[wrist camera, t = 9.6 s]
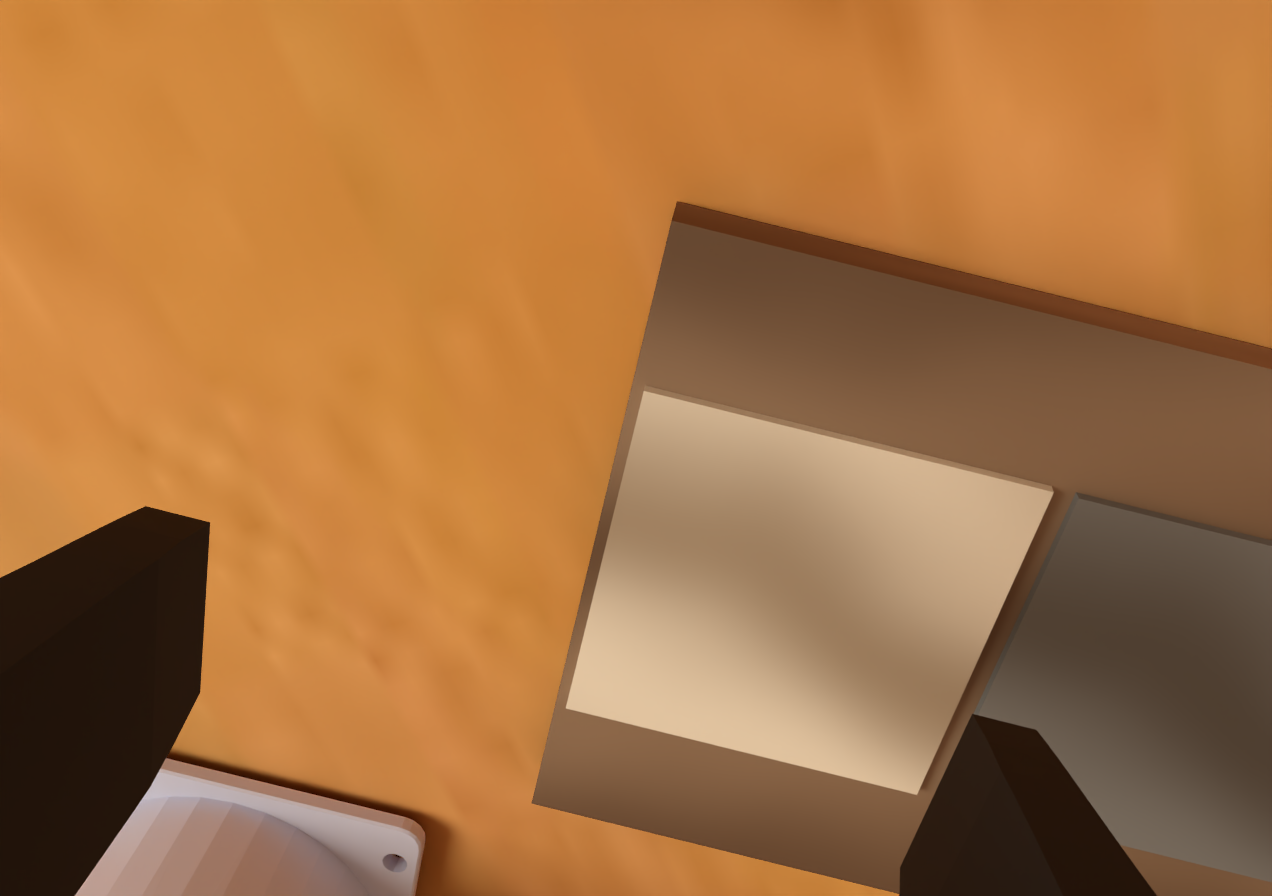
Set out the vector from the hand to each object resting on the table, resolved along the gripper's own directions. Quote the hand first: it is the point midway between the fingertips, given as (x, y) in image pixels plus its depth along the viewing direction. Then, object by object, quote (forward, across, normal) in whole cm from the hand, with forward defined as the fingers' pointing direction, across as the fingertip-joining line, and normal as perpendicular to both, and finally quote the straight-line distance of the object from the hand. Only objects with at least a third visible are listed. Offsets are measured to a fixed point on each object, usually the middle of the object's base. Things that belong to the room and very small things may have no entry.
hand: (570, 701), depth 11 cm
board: (+9, -14, +4) cm, 17 cm away
